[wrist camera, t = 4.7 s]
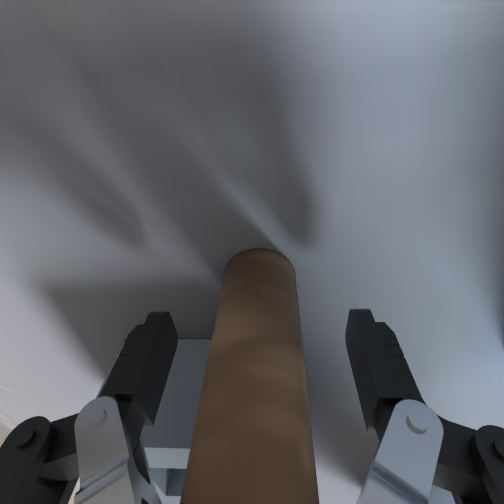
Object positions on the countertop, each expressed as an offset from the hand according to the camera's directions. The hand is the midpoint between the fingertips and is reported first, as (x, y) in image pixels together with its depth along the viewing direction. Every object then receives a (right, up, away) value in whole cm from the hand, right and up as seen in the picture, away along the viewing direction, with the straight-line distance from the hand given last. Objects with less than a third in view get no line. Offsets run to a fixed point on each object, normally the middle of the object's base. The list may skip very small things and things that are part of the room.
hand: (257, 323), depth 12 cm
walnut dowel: (0, +2, +2) cm, 3 cm away
